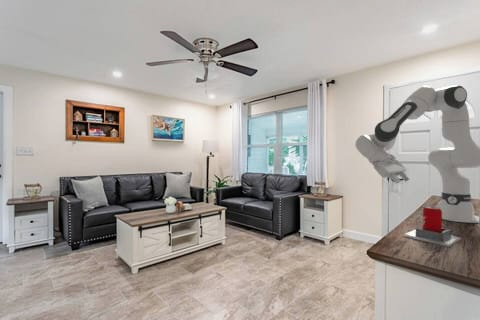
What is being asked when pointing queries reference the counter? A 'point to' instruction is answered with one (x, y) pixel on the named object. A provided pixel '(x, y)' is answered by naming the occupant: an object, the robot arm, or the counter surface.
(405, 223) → the counter surface
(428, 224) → the beverage can
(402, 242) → the counter surface
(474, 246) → the counter surface
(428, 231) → the grey socket base
